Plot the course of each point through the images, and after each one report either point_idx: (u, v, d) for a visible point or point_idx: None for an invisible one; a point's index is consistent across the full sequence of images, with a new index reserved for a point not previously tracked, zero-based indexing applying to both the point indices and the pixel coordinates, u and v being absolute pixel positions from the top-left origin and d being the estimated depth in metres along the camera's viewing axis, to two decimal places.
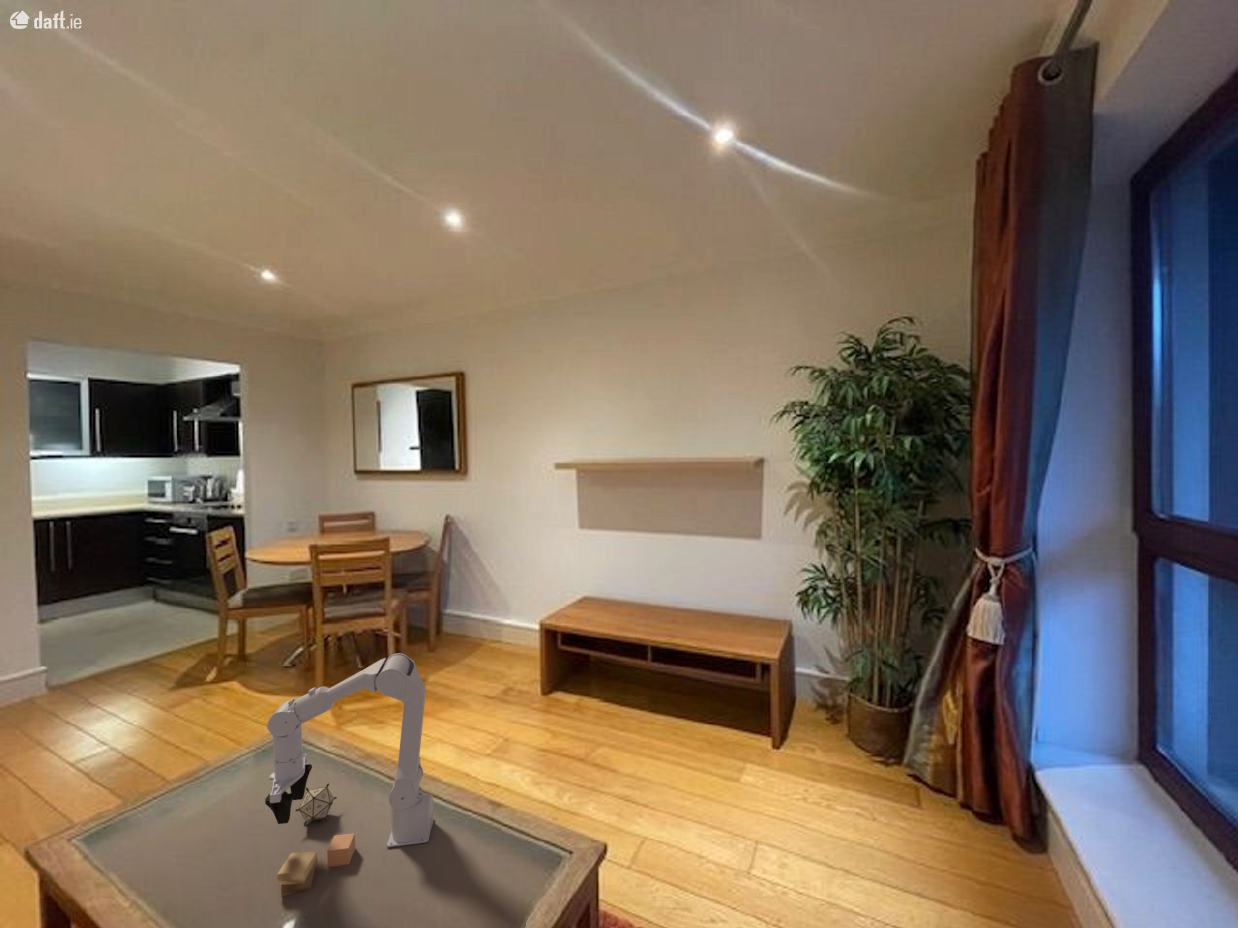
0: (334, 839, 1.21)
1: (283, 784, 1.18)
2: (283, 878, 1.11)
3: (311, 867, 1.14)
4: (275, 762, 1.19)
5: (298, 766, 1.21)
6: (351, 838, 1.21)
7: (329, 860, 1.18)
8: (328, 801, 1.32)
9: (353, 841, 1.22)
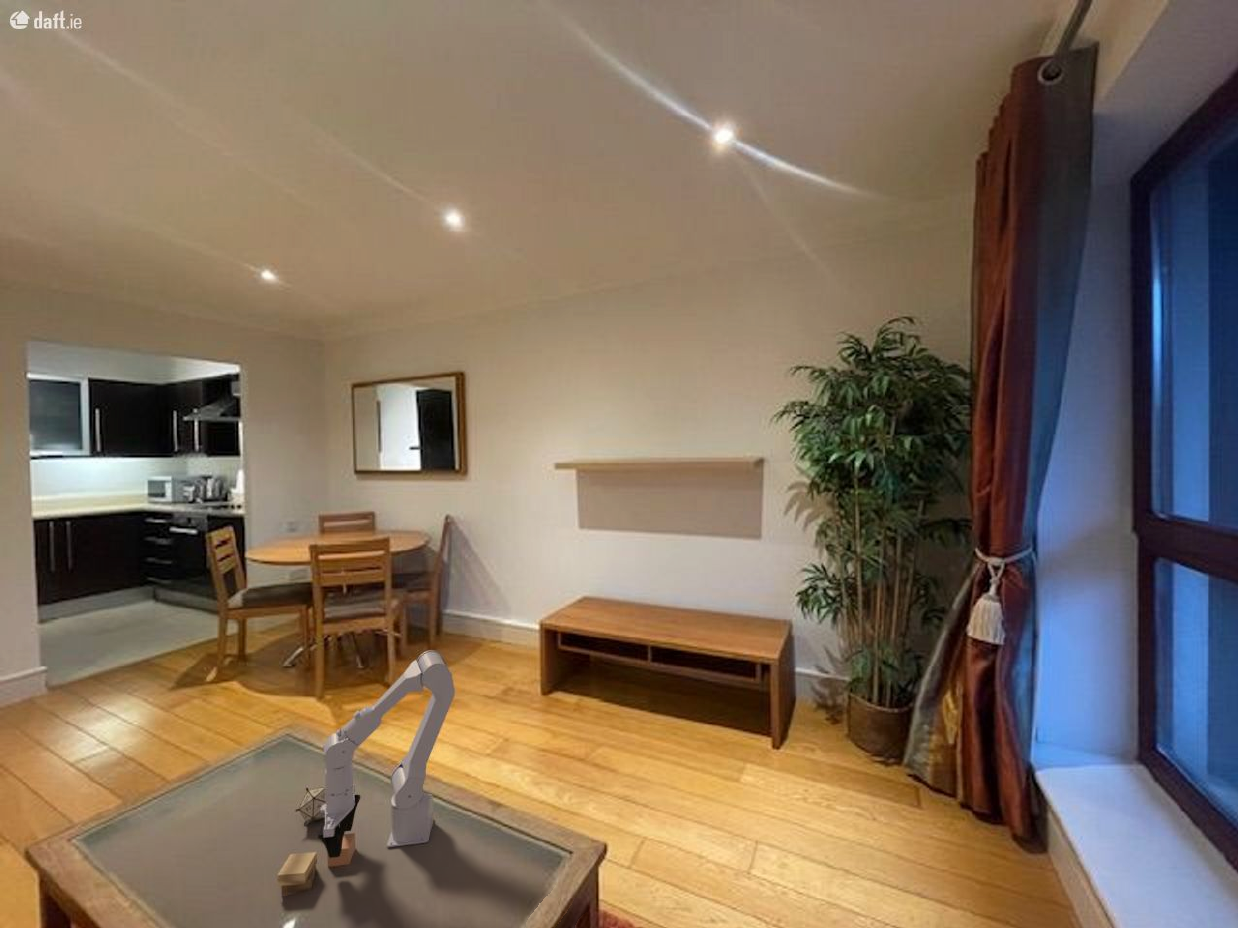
0: None
1: (335, 817, 1.16)
2: (284, 879, 1.11)
3: (311, 867, 1.14)
4: (327, 794, 1.17)
5: (350, 798, 1.19)
6: (351, 838, 1.21)
7: (329, 860, 1.18)
8: None
9: (353, 841, 1.22)
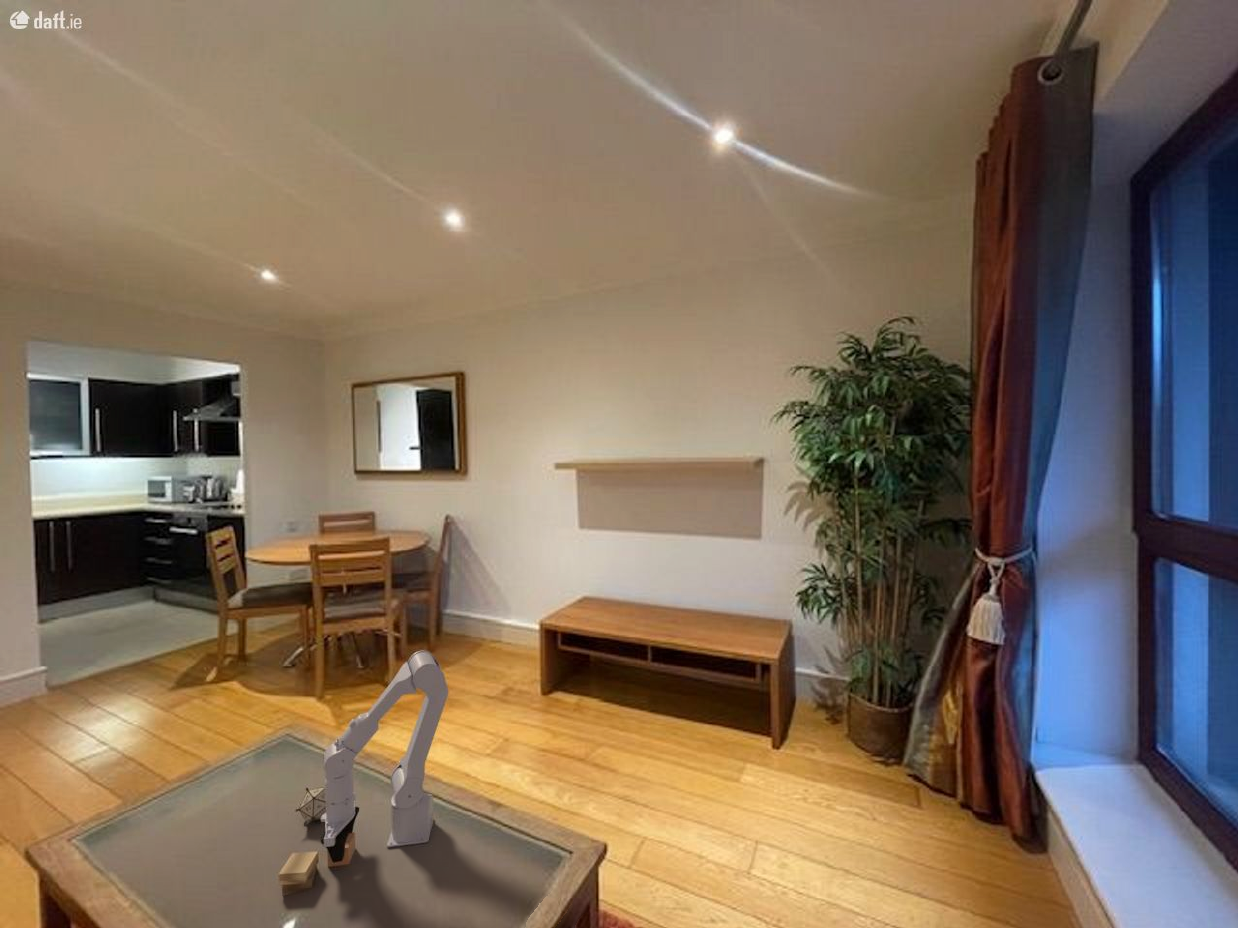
0: None
1: (336, 826, 1.17)
2: (285, 878, 1.11)
3: (312, 867, 1.14)
4: (327, 804, 1.17)
5: (350, 807, 1.19)
6: (351, 837, 1.21)
7: (329, 859, 1.18)
8: None
9: (353, 841, 1.22)
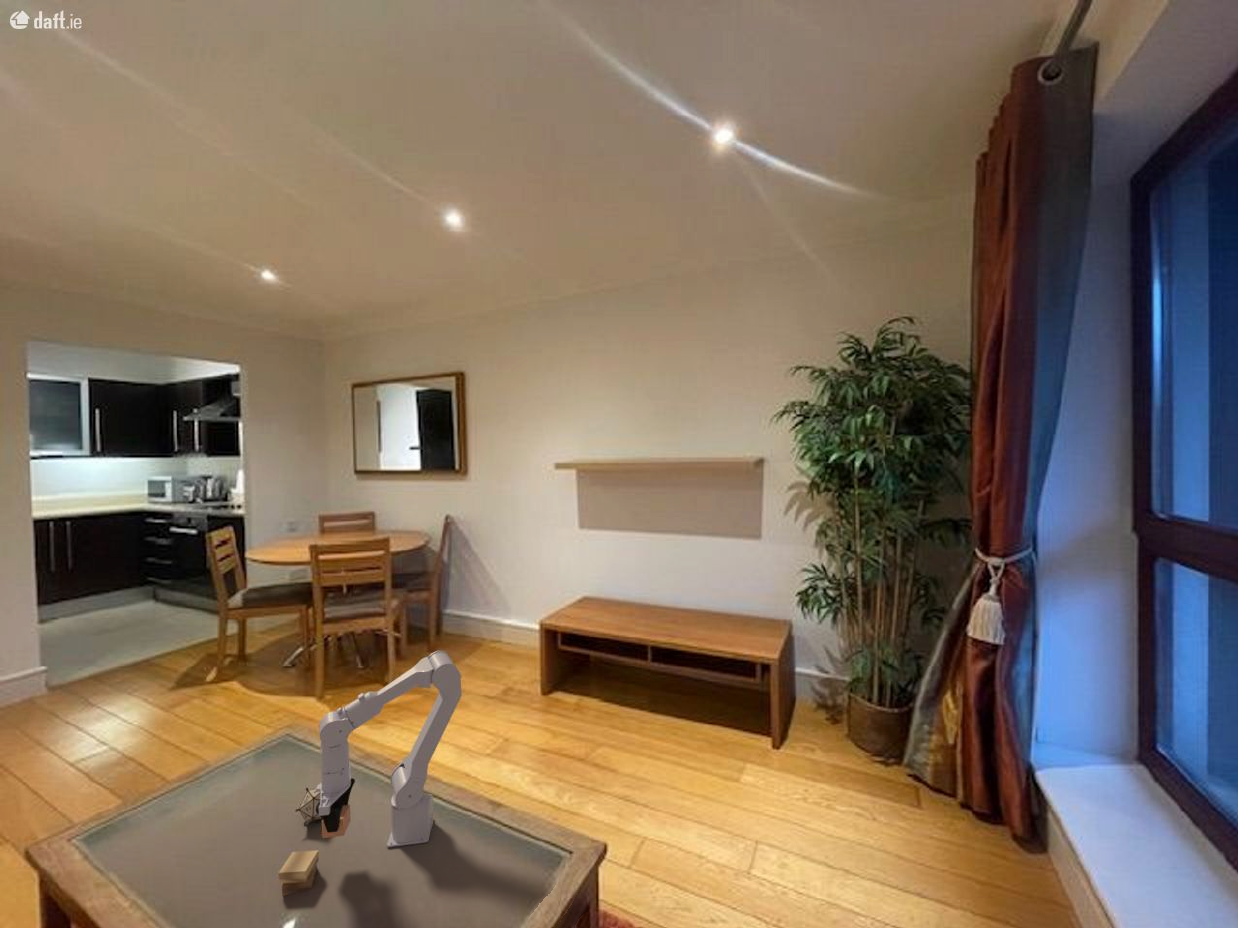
0: None
1: (331, 796, 1.15)
2: (285, 876, 1.11)
3: (312, 866, 1.14)
4: (322, 773, 1.16)
5: (345, 777, 1.18)
6: (346, 809, 1.20)
7: (323, 831, 1.17)
8: None
9: (348, 813, 1.21)
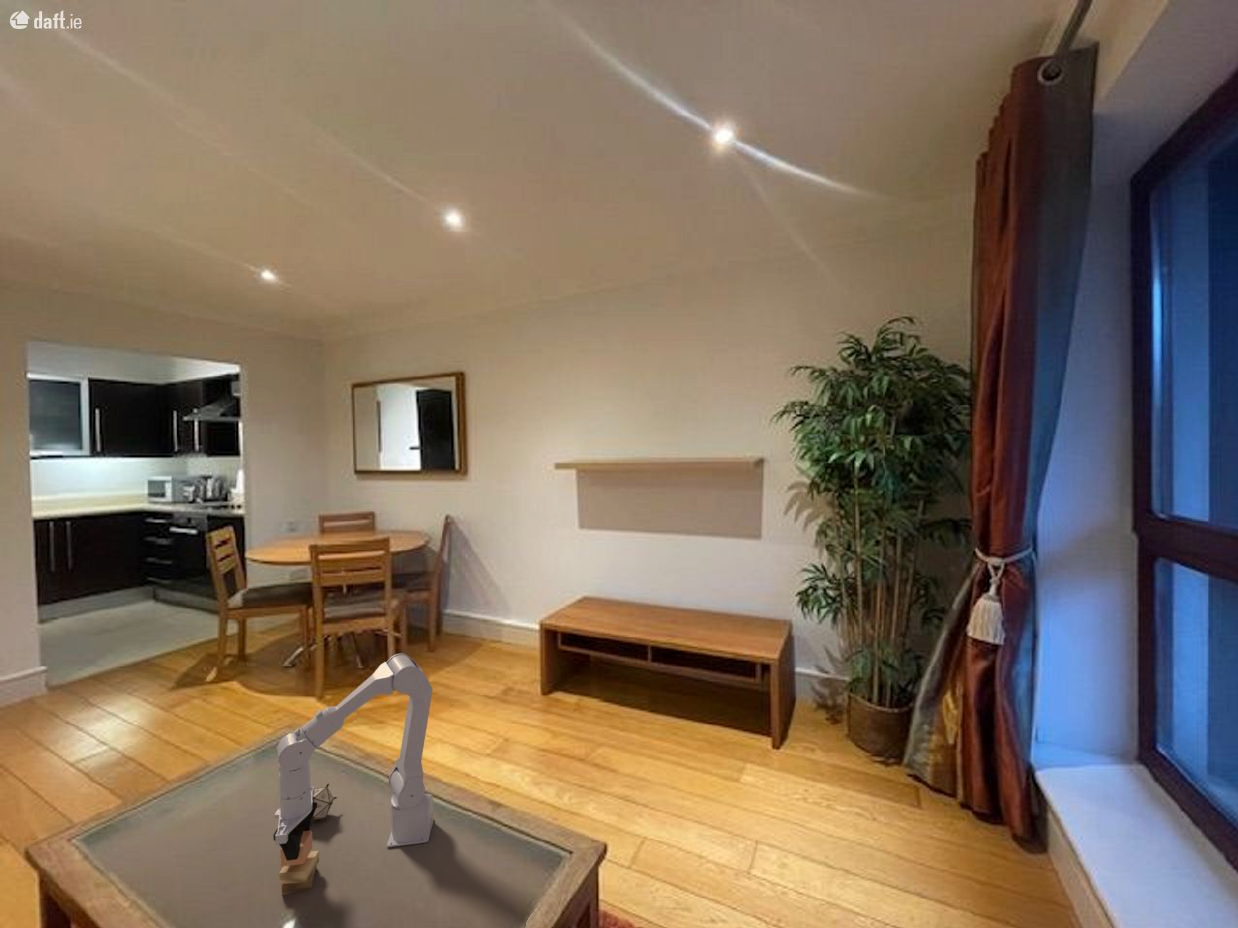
0: None
1: (289, 822, 1.09)
2: (285, 877, 1.11)
3: (313, 866, 1.14)
4: (281, 798, 1.10)
5: (306, 802, 1.12)
6: (307, 836, 1.14)
7: (282, 859, 1.11)
8: (328, 801, 1.32)
9: (309, 839, 1.15)
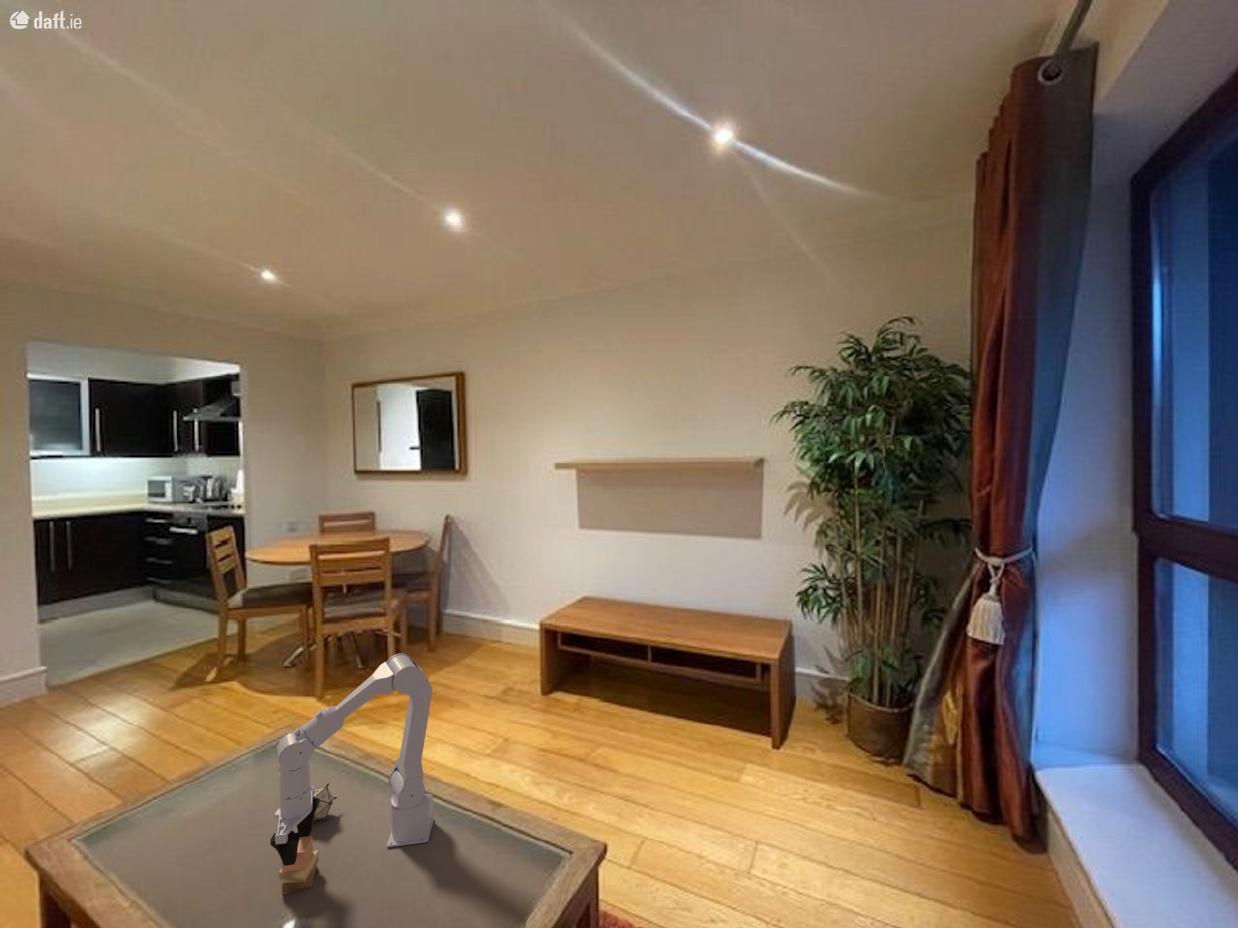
0: None
1: (289, 822, 1.09)
2: (285, 876, 1.11)
3: (312, 866, 1.15)
4: (281, 798, 1.10)
5: (306, 802, 1.12)
6: (308, 841, 1.15)
7: (283, 865, 1.11)
8: (328, 801, 1.32)
9: (310, 844, 1.15)
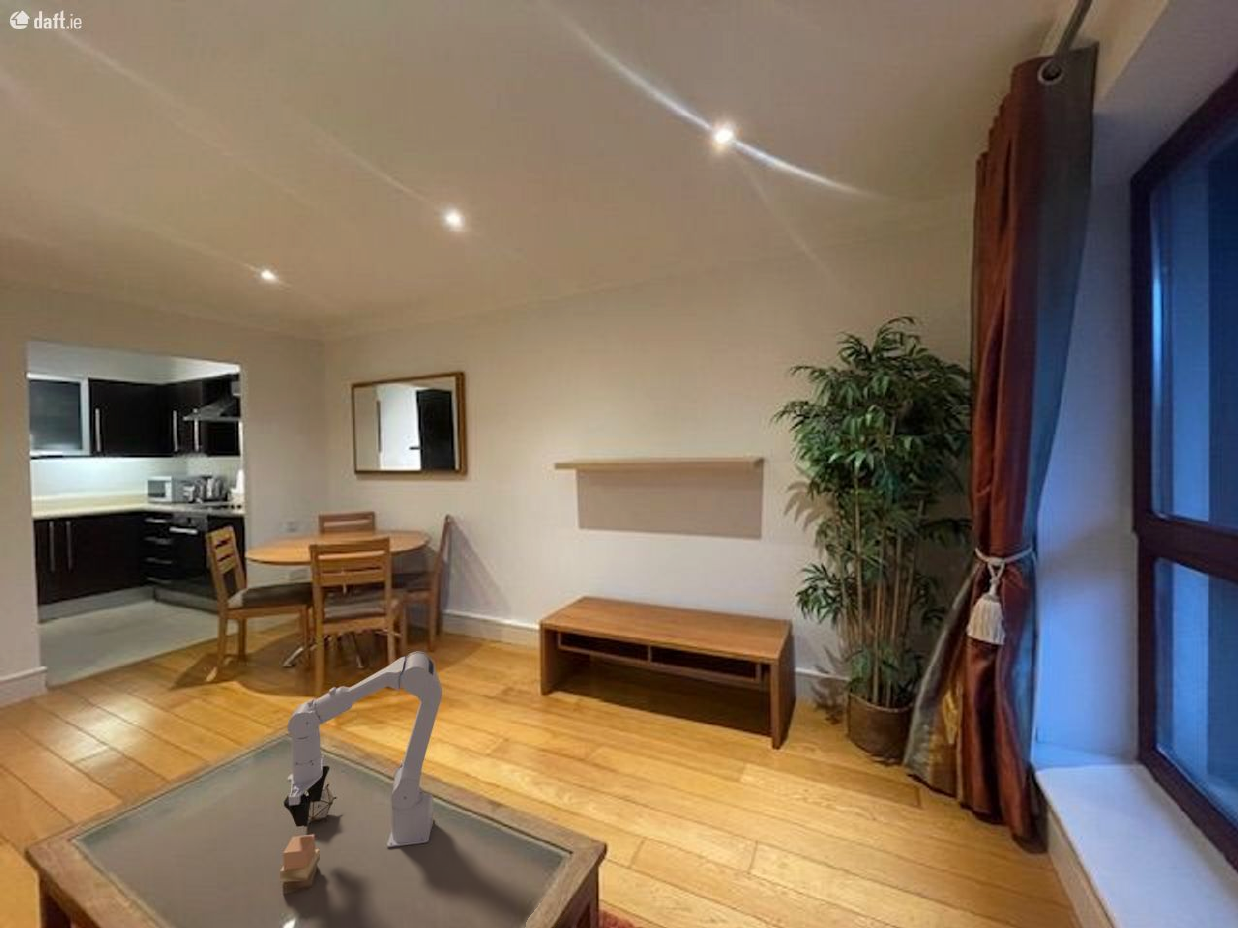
0: (292, 840, 1.15)
1: (302, 786, 1.17)
2: (286, 875, 1.12)
3: (314, 864, 1.15)
4: (293, 764, 1.17)
5: (317, 768, 1.19)
6: (310, 840, 1.15)
7: (285, 863, 1.12)
8: (328, 801, 1.32)
9: (312, 843, 1.15)
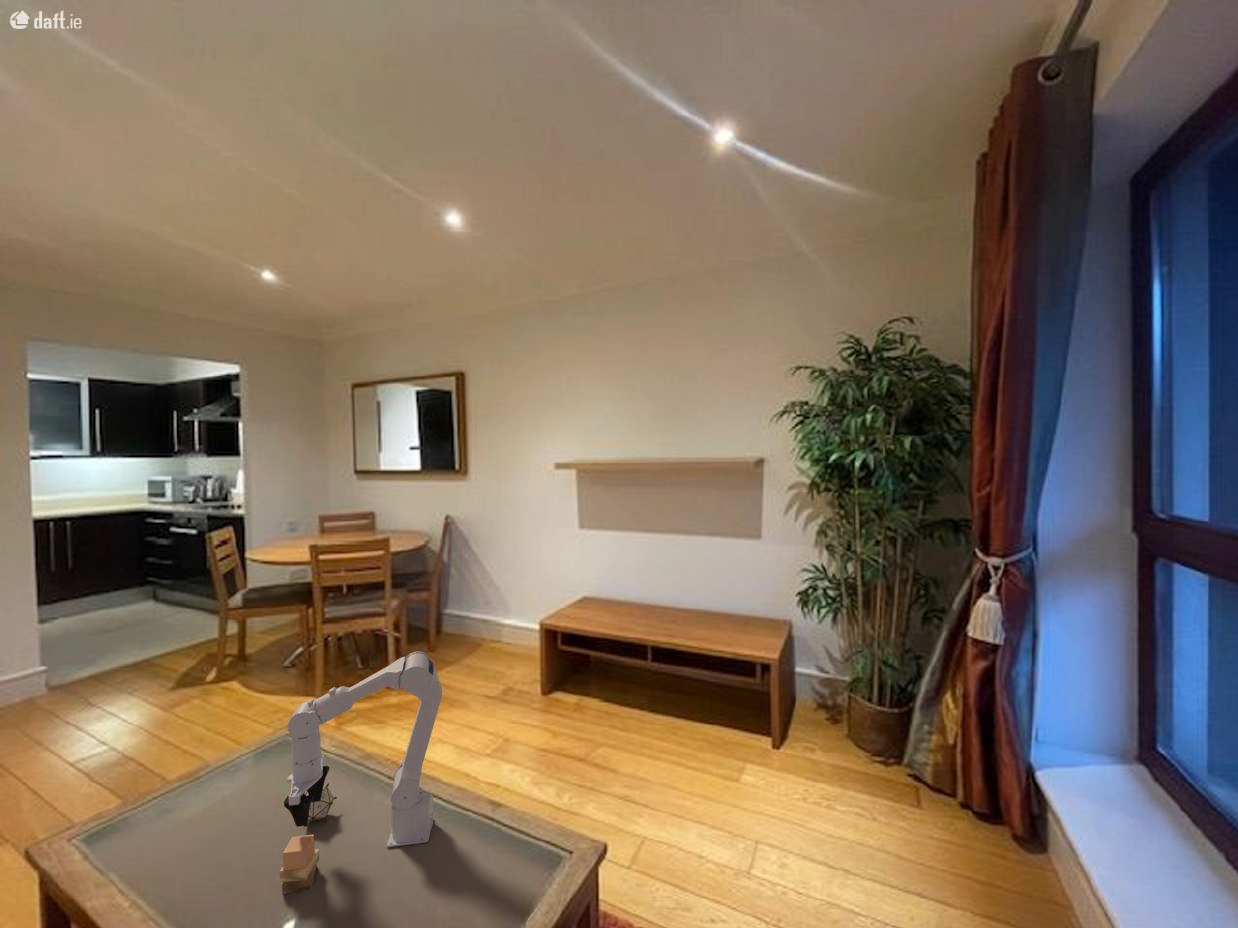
0: (291, 841, 1.15)
1: (302, 786, 1.17)
2: (286, 875, 1.12)
3: (313, 864, 1.15)
4: (293, 764, 1.17)
5: (317, 768, 1.19)
6: (309, 840, 1.15)
7: (285, 863, 1.12)
8: (328, 801, 1.32)
9: (312, 843, 1.15)
